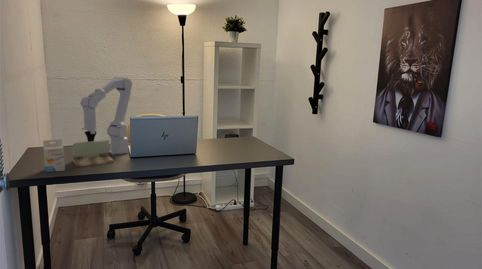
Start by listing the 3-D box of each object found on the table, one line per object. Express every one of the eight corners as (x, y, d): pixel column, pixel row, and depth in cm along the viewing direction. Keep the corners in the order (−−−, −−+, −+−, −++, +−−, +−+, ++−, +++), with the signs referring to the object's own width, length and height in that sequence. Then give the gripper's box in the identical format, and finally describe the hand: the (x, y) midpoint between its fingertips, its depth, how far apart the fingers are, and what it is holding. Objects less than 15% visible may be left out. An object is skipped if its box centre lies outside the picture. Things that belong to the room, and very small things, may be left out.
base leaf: (108, 156, 201) (107, 152, 201) (113, 162, 192) (113, 157, 191) (73, 160, 191) (72, 156, 191) (76, 166, 182) (76, 161, 182)
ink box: (45, 172, 171) (43, 142, 168) (44, 169, 175) (42, 140, 172) (65, 170, 176) (63, 141, 173) (63, 167, 180) (62, 138, 177)
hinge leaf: (108, 156, 200) (107, 154, 201) (109, 140, 195) (108, 139, 197) (73, 160, 190) (72, 158, 191) (73, 144, 186) (72, 142, 187)
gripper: (79, 117, 194) (80, 142, 196) (84, 122, 182) (85, 148, 184) (93, 117, 197) (94, 141, 200) (99, 121, 185) (99, 147, 188)
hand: (90, 144), depth 193 cm, fingers closed, pressing on hinge leaf
